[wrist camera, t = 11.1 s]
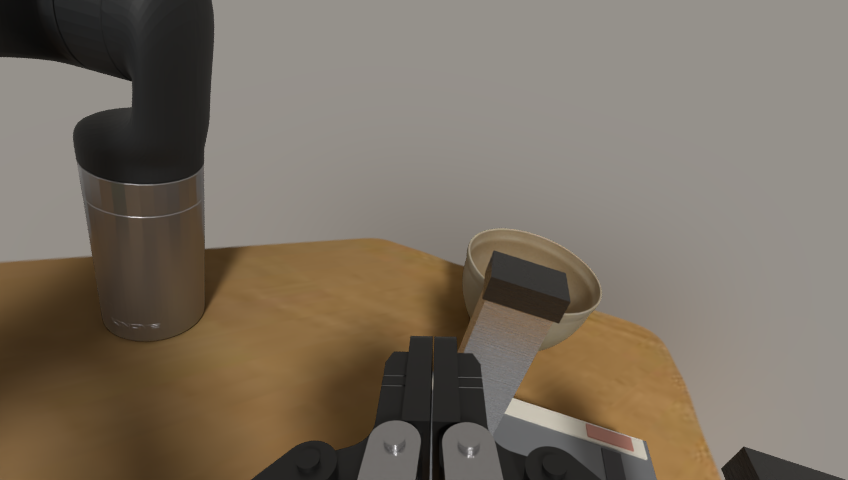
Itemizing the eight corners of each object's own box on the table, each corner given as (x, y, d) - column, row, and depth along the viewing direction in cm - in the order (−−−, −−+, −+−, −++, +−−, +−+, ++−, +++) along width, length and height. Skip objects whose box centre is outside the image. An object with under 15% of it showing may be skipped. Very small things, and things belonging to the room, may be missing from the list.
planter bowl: (428, 291, 62) (449, 224, 56) (527, 291, 68) (556, 231, 62) (470, 388, 49) (504, 314, 44) (588, 378, 55) (631, 311, 49)
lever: (494, 443, 39) (570, 302, 30) (431, 422, 39) (491, 276, 31) (495, 409, 42) (566, 272, 34) (438, 390, 42) (493, 250, 34)
